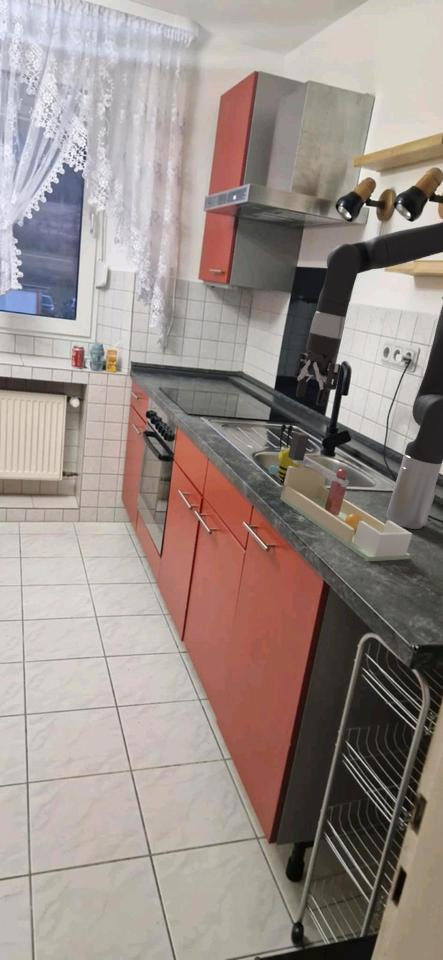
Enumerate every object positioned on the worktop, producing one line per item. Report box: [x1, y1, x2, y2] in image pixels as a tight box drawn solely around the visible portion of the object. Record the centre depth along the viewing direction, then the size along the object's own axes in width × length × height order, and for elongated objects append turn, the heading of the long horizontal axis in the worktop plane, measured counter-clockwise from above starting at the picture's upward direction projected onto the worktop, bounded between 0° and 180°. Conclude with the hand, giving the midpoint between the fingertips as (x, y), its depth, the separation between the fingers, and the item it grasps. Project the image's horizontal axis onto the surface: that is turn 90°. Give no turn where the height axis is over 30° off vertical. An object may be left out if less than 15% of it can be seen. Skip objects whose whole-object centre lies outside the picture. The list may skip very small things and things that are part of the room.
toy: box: [268, 423, 301, 483], centre depth 171 cm, size 6×14×15 cm
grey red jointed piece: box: [288, 431, 350, 515], centre depth 150 cm, size 6×18×15 cm, turn 28°
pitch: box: [279, 466, 413, 562], centre depth 143 cm, size 12×34×9 cm, turn 28°
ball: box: [345, 513, 363, 531], centre depth 140 cm, size 4×4×4 cm
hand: (309, 401), depth 150 cm, fingers open, 8 cm apart
